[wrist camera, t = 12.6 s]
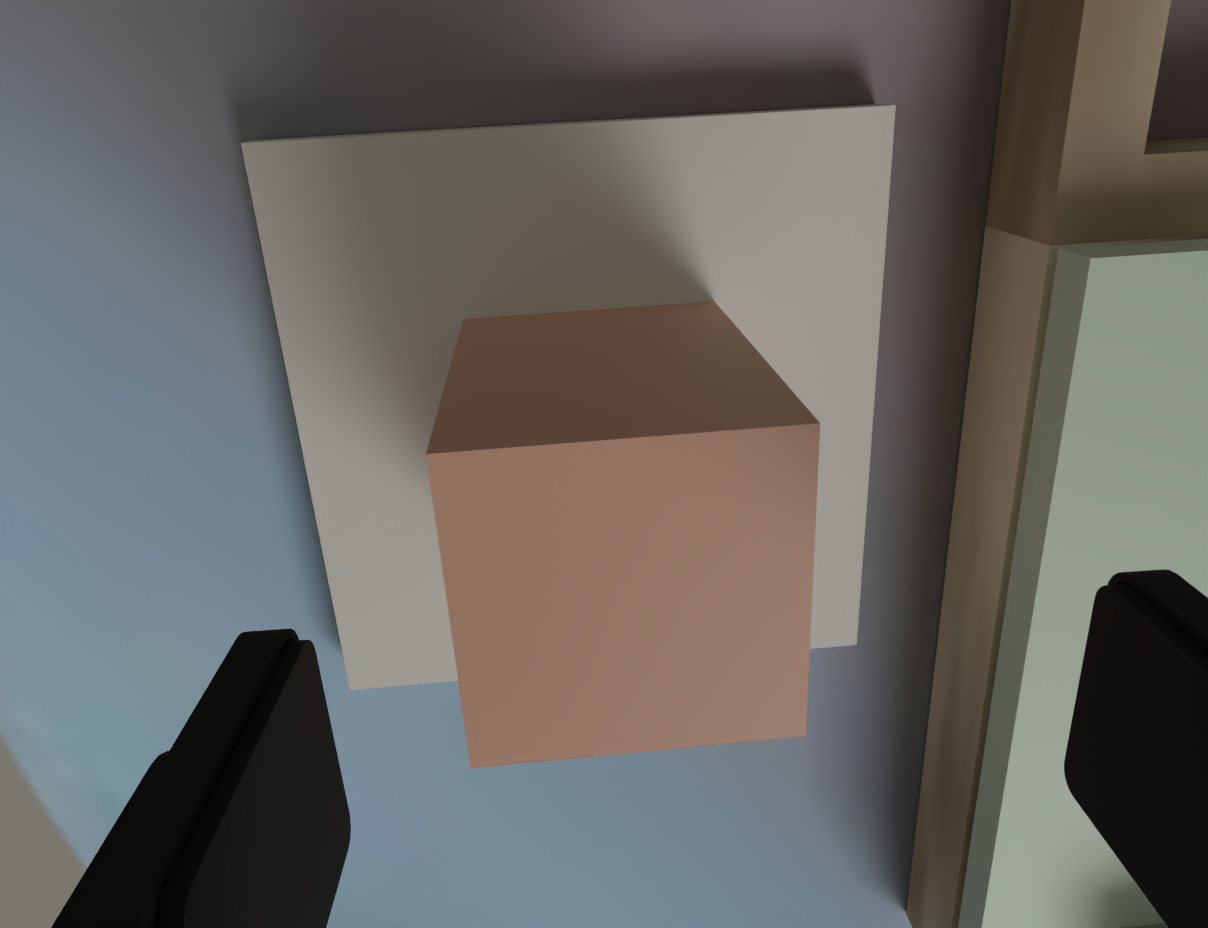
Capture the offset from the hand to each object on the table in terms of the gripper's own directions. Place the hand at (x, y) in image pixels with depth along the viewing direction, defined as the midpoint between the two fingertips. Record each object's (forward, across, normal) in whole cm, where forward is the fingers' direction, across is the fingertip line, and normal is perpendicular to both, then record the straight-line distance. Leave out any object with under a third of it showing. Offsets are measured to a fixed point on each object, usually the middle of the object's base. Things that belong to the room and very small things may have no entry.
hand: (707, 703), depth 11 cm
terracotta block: (+9, +1, 0) cm, 9 cm away
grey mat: (+10, +1, 0) cm, 10 cm away
